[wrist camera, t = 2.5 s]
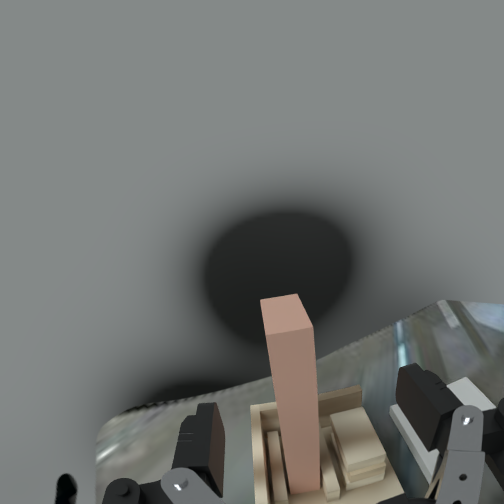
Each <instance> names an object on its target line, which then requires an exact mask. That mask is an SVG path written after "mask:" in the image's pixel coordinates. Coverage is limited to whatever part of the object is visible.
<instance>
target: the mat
mask: <svg viewBox="0 0 504 504" xmlns="http://www.w3.org/2000/svg"><path fill="white" fill-rule="evenodd" d="M446 386H447V388H449V389H450V390H451V391H452V392H453V393H454V394H455V395H456V397H457V398H458V399H459V400H460V401H461V402H462V403H463V404H464V405H473V406H476V407H478V408H479V409H480V410H481V411H485V410H489V409H494V408H496V407H495V406H494V405H493V403H492V402H491V401H490V400H489V399H488V398H487V397H486V396H485V395H484V394H483V393H482V392H481V391H480V390H479V389H478V388H477V387H476V386H475V385H474V384H473V383H472V382H471V381H470V380H469V379H468V378H467V377H464V378H462V379H460V380H458V381H455V382H453V383H451V384H448V385H446ZM389 414H390V416H391V418H392V420H393V421H394V423H395V425H396V426H397V428H398V430H399V432H400V433H401V435H402V437H403V438H404V440H405V442H406V444H407V445H408V447H409V449H410V451H411V453H412V454H413V456H414V458H415V460H416V461H417V463H418V465H419V467H420V469H421V470H422V472H423V474H424V476H425V478H426V479H427V481H428V483H429V485H430V482H431V479H432V475H433V472H434V468H435V464H436V460H437V456H438V454H439V451H438V450H437V449H435V450H433V451H430V452H428V451H427V450H426V448H425V447H424V445H423V443H422V442H421V440H420V439H419V437H418V435H417V434H416V432H415V431H414V429H413V428H412V426H411V424H410V423H409V421H408V420H407V418H406V417H405V415H404V414H403V412H402V411H401V409H400V408H399V406H398V404H395V405H392V406H390V411H389ZM484 461H485V460H484Z"/></svg>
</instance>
